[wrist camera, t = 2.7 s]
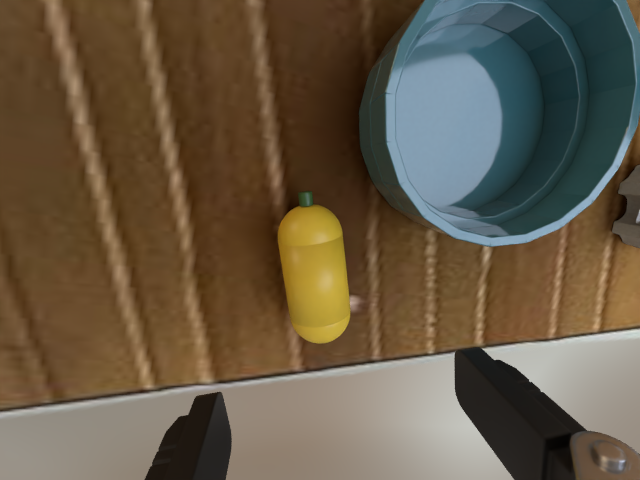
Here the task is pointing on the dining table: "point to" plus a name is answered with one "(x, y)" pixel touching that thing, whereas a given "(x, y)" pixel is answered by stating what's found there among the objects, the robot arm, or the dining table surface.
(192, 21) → the dining table surface
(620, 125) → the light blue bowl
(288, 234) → the squash
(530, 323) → the dining table surface
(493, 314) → the dining table surface
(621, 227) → the egg carton
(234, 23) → the dining table surface
